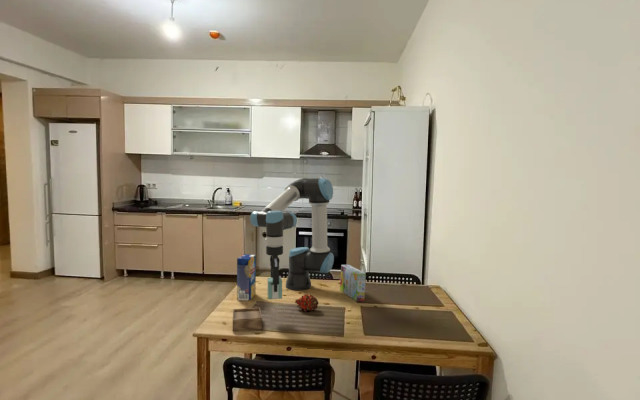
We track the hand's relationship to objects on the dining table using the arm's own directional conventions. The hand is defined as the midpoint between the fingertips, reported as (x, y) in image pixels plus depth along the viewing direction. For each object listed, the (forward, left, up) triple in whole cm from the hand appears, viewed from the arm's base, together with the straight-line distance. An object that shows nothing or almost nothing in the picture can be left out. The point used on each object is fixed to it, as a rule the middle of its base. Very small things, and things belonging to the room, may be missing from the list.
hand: (274, 295), depth 161 cm
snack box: (-46, -28, -12) cm, 55 cm away
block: (0, 0, 0) cm, 1 cm away
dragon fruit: (-17, -10, -12) cm, 23 cm away
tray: (+12, +2, -11) cm, 17 cm away
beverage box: (+12, -34, -12) cm, 38 cm away
